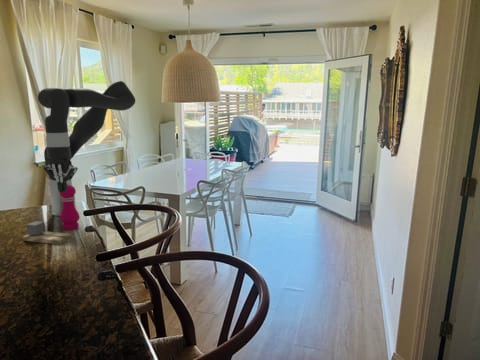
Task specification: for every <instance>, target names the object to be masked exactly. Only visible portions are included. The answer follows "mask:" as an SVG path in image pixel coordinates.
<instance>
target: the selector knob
mask: <svg viewBox="0 0 480 360" xmlns="http://www.w3.org/2000/svg"><path fill="white" fill-rule="evenodd" d="M45 224H46V223H45V221H40V220H35V221H32V222H29V223H27V224H26V231H27V235H39V234H41V233H43V232H45V231H46V227H45Z"/></svg>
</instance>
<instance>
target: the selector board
mask: <svg viewBox="0 0 480 360" xmlns="http://www.w3.org/2000/svg"><path fill="white" fill-rule="evenodd" d="M71 239H73V233H64V232H54V231H46V230H45V232H43V233H41V234H39V235H28V234H26V235H24V236H22V240H23V241H24V242H25V241H27V242H33V243H34V242H36V243H43V244H53V245H62V244H64V243H65V242H67V241H69V240H71Z"/></svg>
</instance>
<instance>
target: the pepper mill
mask: <svg viewBox="0 0 480 360" xmlns="http://www.w3.org/2000/svg"><path fill="white" fill-rule="evenodd" d="M76 191H77V190H76V188H75V187H74V186H73V185H72V186H71V185H69V182H67V190H66V192H59V193H60V195H61V196H62V198H61V199H62V201H63V210H62V213H61V216H59V217H60V219H59V220H60V222H61V223H62V224H61V228H62V230H64V231H73V230H77V229H79V226H80V225H79V224H80V223H79V222H78V221H79V220H80V214H79V212H78V210H77V209H76V208H75V207H76V205H75V206H74V200H75V201H76V198H75V197H76V195H75V194H76ZM74 195H75V196H74Z"/></svg>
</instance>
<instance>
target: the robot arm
mask: <svg viewBox="0 0 480 360" xmlns="http://www.w3.org/2000/svg"><path fill="white" fill-rule="evenodd" d="M37 94H38V95H37V101H38V102H39V104H40V105H41V106H42V107H44V108H46V109H50V114H49V115H48V116H46V117H45V118H44V126H45V143H46V147H45V149H44V151H43V152H44V154H43V155H44V156H43V157H44V164H45V166H44V167H43V170H44V171H45V173H46V174H47V176H48V178H49V179H48V180H49V188H50V189H49V191H50V201H51V209H52V211H51V212H52V215H53V216H56V217H60V216H61V213H62V210H63V201H62V199H61V198H62V196H61V195H60V193H59V192H66V190H67V182H69V185H71V186H73V182H72V179H73V177H74V176H75V174H76V173H77V171H78V167H77V166H74V165H73V164H72V161H71V160H72V159H73V158H74V156H75V155H76V154H77V153H78V152H79V150H80V149H81V148H82V147H83V146H84V145H85V144H86V143H87V142H89V141H90V140H91V138H93V137H94V136H95V135H96V134H97V133H98V132H99V131H100V130H102V128H103V126H104V123H105V120H106V116H107V112H108V110H111V111H112V110H113V111H119V112H121V111H127V110H130V108H133V106H134V105H135V104H136V98H135V96H134V93H132V91H131V89H130V88H129V87H128V86H127V84H126V82H124V81H122V80H118V81H115V82H112V83H111V84H110V85H109V86H108V87H107V89H105V90H104V92H103V93H101V92H100V91H99V92H98V91H96V90H94V89H89V88H84V87H83V88H80V87H79V88H75V87H73V88H62V87H61V88H60V87H48V88H43V89H42V90H40V91H39V92H38V93H37ZM70 108H89V109H88V110H87V111H86V112H85V113H83V115H82V116H80V118H79V119H77V121H76V122H75V123H74V124H73V129H72V132H71V134H70V135H69V131H68V130H69V127H68V117H69V112H70ZM74 196H75V197H76V195H74ZM74 206H75V208H76V199H75V200H74Z"/></svg>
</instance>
